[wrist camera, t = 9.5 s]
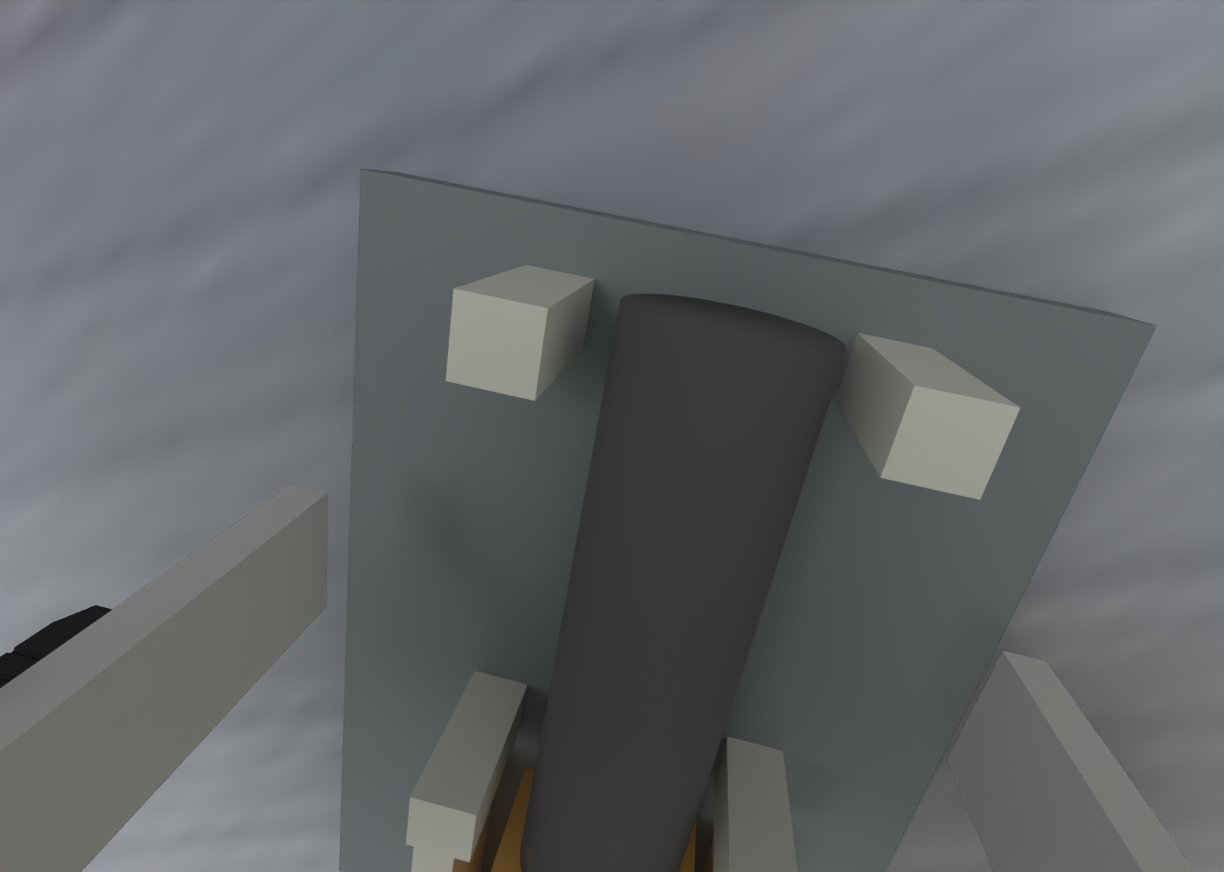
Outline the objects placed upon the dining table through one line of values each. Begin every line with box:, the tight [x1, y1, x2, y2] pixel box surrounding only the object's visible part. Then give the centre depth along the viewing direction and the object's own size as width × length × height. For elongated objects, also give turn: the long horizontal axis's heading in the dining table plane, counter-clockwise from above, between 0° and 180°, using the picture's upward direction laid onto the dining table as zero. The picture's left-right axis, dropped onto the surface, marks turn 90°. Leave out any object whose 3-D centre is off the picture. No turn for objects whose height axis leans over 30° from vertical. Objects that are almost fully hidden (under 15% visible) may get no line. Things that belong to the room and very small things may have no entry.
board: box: [339, 169, 1157, 872], centre depth 16 cm, size 22×16×6 cm
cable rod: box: [491, 294, 846, 872], centre depth 14 cm, size 19×5×5 cm, turn 170°
